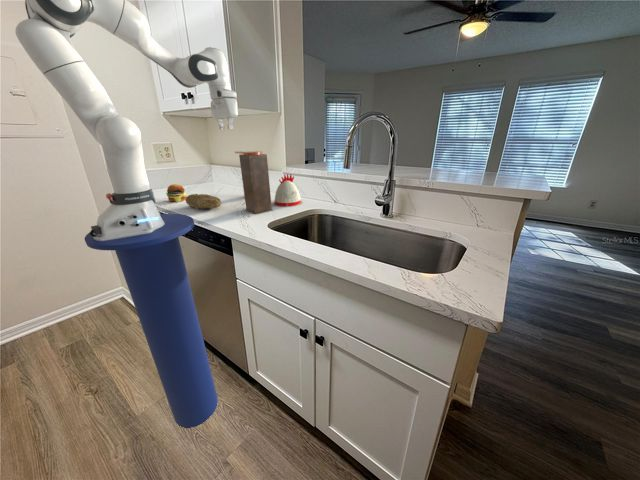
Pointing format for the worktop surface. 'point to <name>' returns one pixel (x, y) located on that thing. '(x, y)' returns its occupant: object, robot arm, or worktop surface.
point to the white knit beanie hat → (287, 193)
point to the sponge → (203, 201)
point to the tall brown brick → (256, 182)
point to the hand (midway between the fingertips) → (226, 129)
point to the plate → (249, 152)
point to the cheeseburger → (176, 193)
